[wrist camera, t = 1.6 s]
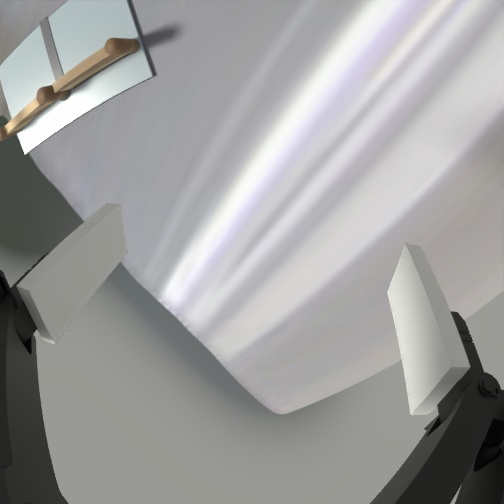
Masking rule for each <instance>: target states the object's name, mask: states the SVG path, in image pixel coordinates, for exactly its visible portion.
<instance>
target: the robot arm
mask: <svg viewBox="0 0 504 504" xmlns="http://www.w3.org/2000/svg"><path fill="white" fill-rule="evenodd" d="M127 253H128V250H127V245H126V239H125V233H124V227H123V221H122V214H121V207H120V204H112V203H107V204H106V205H105V206H103V207H102V208H101V209H100V210H98V211H97V212H96V213H95V214H93V215H92V216H91V217H90V218H89V219H87V220H86V221H85V222H84V223H83V224H82V225H81V226H80V227H78V228H77V229H76V230H75V231H74V232H72V233H71V234H70V235H69V236H68V237H67V238H66V239H65V240H63V241H62V242H61V243H60V244H59V245H58V246H57V247H56V248H55V249H53V250H52V251H50V252H49V253H47V254H45V255H44V256H43V257H41V258H40V259H39V260H38V261H37V262H36V264H34V265H33V266H32V267H31V269H29V270H28V271H27V272H26V273H25V274H24V275H23V276H22V277H21V278H20V279H19V280H18V281H17V282H16V283H15V284H14V285H13V286H12V287H11V288H10V286H9V284H8V282H7V280H6V278H5V275H4V273H3V272H2V271H1V270H0V504H68V502H67V501H66V500H65V498H64V497H63V496H62V494H61V492H60V490H59V488H58V484H57V481H56V478H55V473H54V470H53V466H52V462H51V457H50V453H49V448H48V444H47V438H46V433H45V428H44V422H43V415H42V408H41V401H40V392H39V384H38V371H37V356H36V339H35V336H34V335H33V333H34V332H35V331H36V330H38V332H39V333H40V335H41V337H42V339H43V340H46V341H48V342H50V343H53V344H56V343H57V342H58V341H59V339H60V338H61V336H62V335H63V334H64V332H65V331H66V330H67V328H68V327H69V325H70V324H71V323H72V321H73V320H74V319H75V317H76V316H77V314H78V313H79V312H80V311H81V310H82V308H83V307H84V306H85V304H86V303H87V302H88V301H89V299H90V298H91V297H92V295H93V294H94V293H95V292H96V290H97V289H98V288H99V286H100V285H101V284H102V283H103V282H104V280H105V279H106V278H107V277H108V276H109V274H110V273H111V272H112V271H113V270H114V268H115V267H116V266H117V265H118V264H119V262H120V261H121V260H122V259H123V258H124V256H125V255H126V254H127ZM387 293H388V297H389V301H390V305H391V310H392V314H393V318H394V323H395V327H396V332H397V337H398V342H399V347H400V352H401V357H402V363H403V368H404V374H405V380H406V386H407V393H408V400H409V407H410V414H411V415H426V414H430V413H431V412H432V410H433V409H434V408H435V407H436V406H438V412H439V415H438V416H437V417H436V418H435V419H434V420H433V421H432V422H431V423H430V424H429V425H428V426H427V427H426V428H425V430H427V429H428V430H427V431H426V433H425V434H424V436H423V437H422V439H421V440H420V442H419V443H418V445H417V446H416V447H415V449H414V450H413V452H412V453H411V454H410V456H409V457H408V458H407V460H406V461H405V462H404V464H403V465H402V466H401V468H400V469H399V471H397V473H396V474H395V475H394V476H393V478H392V479H391V480H390V481H389V482H388V484H387V485H386V486H385V487H384V488H383V489H382V491H381V492H380V493H379V494H378V495H377V496H376V498H375V499H374V500H373V501H372V502H371V503H370V504H450V503H451V501H452V499H453V498H454V496H455V495H456V493H457V491H458V489H459V488H460V486H461V488H460V491H459V494H458V497H457V500H456V502H455V504H504V390H501V388H500V385H499V383H498V381H497V380H496V379H495V378H494V377H493V376H492V375H490V374H488V373H486V372H484V371H483V368H482V365H481V362H480V359H479V356H478V354H477V351H476V348H475V345H474V343H472V341H473V340H472V337H471V335H470V334H469V330H468V327H467V325H466V323H465V321H464V320H463V318H462V317H461V316H460V315H459V314H458V312H451V311H450V310H449V307H448V305H447V302H446V300H445V298H444V295H443V293H442V291H441V289H440V286H439V284H438V282H437V280H436V277H435V275H434V273H433V271H432V269H431V267H430V265H429V263H428V261H427V258H426V256H425V254H424V252H423V250H422V248H421V246H417V245H412V244H406V243H405V246H404V249H403V252H402V254H401V257H400V260H399V263H398V266H397V268H396V271H395V274H394V276H393V279H392V281H391V284H390V287H389V289H388V292H387ZM461 484H462V485H461Z"/></svg>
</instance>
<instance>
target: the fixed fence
mask: <svg viewBox="0 0 504 504" xmlns="http://www.w3.org/2000/svg"><path fill="white" fill-rule="evenodd" d="M138 49H139V42H138V40H136V39H128V38H110V39H108V40H107V41H106V43H105V46H104V47H103V48H101V49H100V50H98V51H97V52H95V53H94V54H92V55H91V56H89V57H88V58H86V59H85V60H83V61H82V62H81V63H79V64H78V65H76V66H75V67H74V68H72V69H71V70H69V71H68V72H67V73H65V74H64V75H63V76H62V77H60V78H59V79H58V80H56V81H55V82H54V83H53V84H52V85H49V86H45V87H41V88H39V89H38V91H37V95H36V98H37V101H38V103H39V104H45V103H48V102H52V101H55V100H59V99H62V98H65V97H67V95H68V93H69V89H72V88H74V87H75V86H77V85H78V84H80V83H81V82H82V81H84V80H85V79H87V78H88V77H90V76H92V75H93V74H95V73H96V72H98V71H99V70H101V69H103V68H104V67H106V66H107V65H109V64H111V63H112V62H114V61H116V60H118V59H119V58H121V57H123V56H125V55H126V54H133V53H135V52H137V50H138Z"/></svg>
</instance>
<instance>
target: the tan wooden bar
mask: <svg viewBox="0 0 504 504" xmlns="http://www.w3.org/2000/svg"><path fill="white" fill-rule="evenodd" d="M55 101H56V100H55ZM55 101H52V102H48V103H45V104H39V103H38V101H37V98H35V99H33V100H32V101H31V102H30V103H29V104H28V105H27V106H26V107H25V108H23V109H22V110H21V111H20V112H19V113H18V114H17V115H16V116H15V117H14V118H13V119H12V120H11V121H10V122H9V123H8V124H7V125H6V126H5V127H3V128H0V141H1V140H3V139H5V138H8V137H10V136H12V135H15V134H17V133H19V132H20V131H21V129H22V128H23V127H24V126H25V125H26V124H27V123H29V122H30V121H31V120H32V119H33V118H34V117H36V116H37V115H38V114H39V113H41V112H42V111H43V110H44V109H46V108H47V107H48V106H49V105H51V104H52V103H53V102H55Z"/></svg>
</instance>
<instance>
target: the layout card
mask: <svg viewBox="0 0 504 504" xmlns="http://www.w3.org/2000/svg"><path fill="white" fill-rule="evenodd" d="M110 38H128V39H136V40H138V42H139V49H138V50H137V52H135V53H133V54H126V55H125V56H123V57H121V58H119V59H118V60H116V61H114V62H112V63H111V64H109V65H107V66H106V67H104V68H103V69H101V70H99V71H98V72H96V73H95V74H93V75H92V76H90V77H88V78H87V79H85V80H84V81H82V82H81V83H80V84H78V85H77V86H75V87H74V88H72V89H69V93H68V95H67V97H65V98H62V99H59V100H56V101H55V102H53V103H52V104H51V105H49V106H48V107H47V108H46V109H44V110H43V111H42V112H41V113H39V114H38V115H37V116H36V117H34V118H33V119H32V120H31V121H30V122H29V123H27V124H26V125H25V126H24V127H23V128H22V129H21V131H20V132H19V133H17V135H18V137H19V140H20V143H21V145H22V148H23V151H24V153H25V154H27V153H28V152H30V151H31V150H32V149H34V148H35V147H36V146H38V145H39V144H40V143H42V142H43V141H44V140H46V139H47V138H49V137H50V136H51V135H53V134H54V133H56V132H57V131H59V130H60V129H62V128H63V127H65V126H66V125H68V124H69V123H71V122H72V121H74V120H75V119H77V118H78V117H80V116H82V115H83V114H85V113H86V112H88V111H90V110H91V109H93V108H95V107H96V106H98V105H100V104H102V103H103V102H105V101H107V100H109V99H110V98H112V97H114V96H116V95H118V94H119V93H121V92H123V91H125V90H127V89H129V88H131V87H133V86H135V85H137V84H139V83H141V82H143V81H145V80H147V79H149V78H151V77H153V76H154V75H153V72H152V69H151V67H150V64H149V61H148V58H147V55H146V52H145V49H144V46H143V44H142V41H141V38H140V35H139V32H138V29H137V26H136V23H135V20H134V17H133V14H132V11H131V8H130V5H129V2H128V0H69V1H68V2H66V3H65V4H64V5H63V6H61V7H60V8H59V9H58V10H57V11H55V12H54V13H53V14H52V15H51V16H50V17H46V18H45V19H44V20H43V21H42V22H41V23H40V26H39V27H37V28H36V29H35V30H34V31H33V32H32V33H31V34H30V35H29V36H28V37H27V38H26V39H25V40H24V41H23V42H22V43H21V44H20V45H19V46H18V47H17V48H16V49H15V50H14V51H13V52H12V54H11V55H10V56H9V57H8V58H7V59H6V60H5V61H4V62H3V64H2V65H1V66H0V80H1V83H2V87H3V91H4V94H5V98H6V101H7V104H8V108H9V111H10V114H11V117H12V119H13V118H14V117H15V116H16V115H17V114H18V113H19V112H20V111H21V110H22V109H23V108H25V107H26V106H27V105H28V104H29V103H30V102H31V101H32V100H33V99H35V98H36V95H37V91H38V89H39V88H41V87H45V86H49V85H52V84H53V83H54V82H55V81H56V80H58V79H59V78H60V77H62V76H63V75H64V74H65V73H67V72H68V71H69V70H71V69H72V68H74V67H75V66H76V65H78V64H79V63H81V62H82V61H83V60H85V59H86V58H88V57H89V56H91V55H92V54H94V53H95V52H97V51H98V50H100V49H101V48H103V47H104V46H105V43H106V41H107V40H108V39H110Z"/></svg>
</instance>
